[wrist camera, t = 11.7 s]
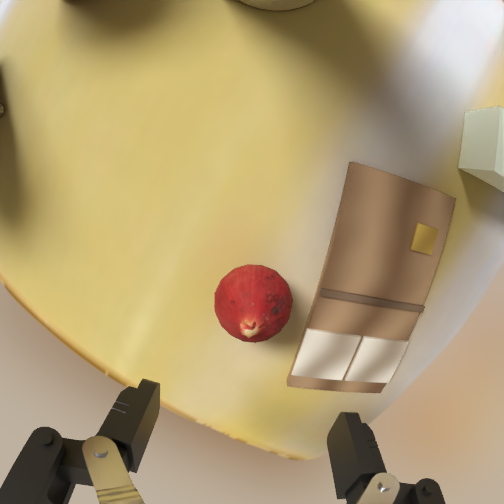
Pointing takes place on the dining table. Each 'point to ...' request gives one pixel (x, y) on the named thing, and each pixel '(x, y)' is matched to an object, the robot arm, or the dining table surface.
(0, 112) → the tabletop clock
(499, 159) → the block
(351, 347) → the board
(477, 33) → the dining table surface
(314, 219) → the dining table surface
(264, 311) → the onion
